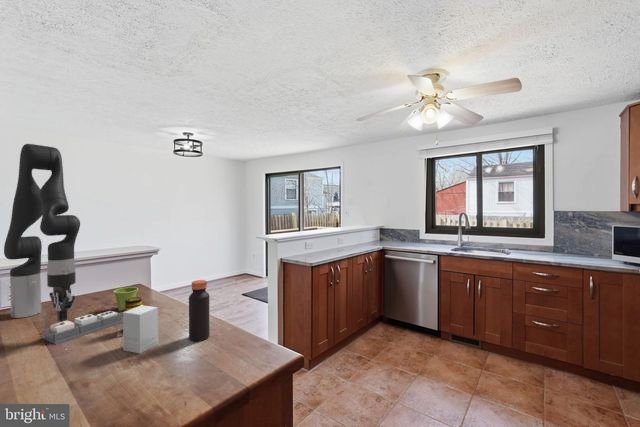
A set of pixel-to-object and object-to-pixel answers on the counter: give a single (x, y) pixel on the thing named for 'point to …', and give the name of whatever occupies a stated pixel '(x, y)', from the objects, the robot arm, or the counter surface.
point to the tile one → (61, 326)
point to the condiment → (130, 305)
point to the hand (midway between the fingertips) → (62, 320)
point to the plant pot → (124, 296)
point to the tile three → (106, 314)
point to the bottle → (199, 311)
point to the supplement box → (140, 329)
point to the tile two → (85, 319)
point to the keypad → (82, 329)
